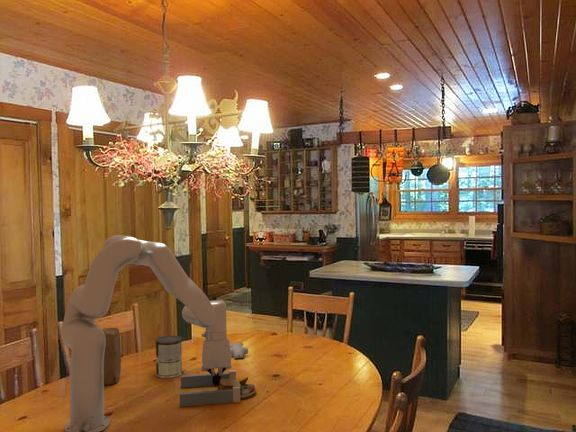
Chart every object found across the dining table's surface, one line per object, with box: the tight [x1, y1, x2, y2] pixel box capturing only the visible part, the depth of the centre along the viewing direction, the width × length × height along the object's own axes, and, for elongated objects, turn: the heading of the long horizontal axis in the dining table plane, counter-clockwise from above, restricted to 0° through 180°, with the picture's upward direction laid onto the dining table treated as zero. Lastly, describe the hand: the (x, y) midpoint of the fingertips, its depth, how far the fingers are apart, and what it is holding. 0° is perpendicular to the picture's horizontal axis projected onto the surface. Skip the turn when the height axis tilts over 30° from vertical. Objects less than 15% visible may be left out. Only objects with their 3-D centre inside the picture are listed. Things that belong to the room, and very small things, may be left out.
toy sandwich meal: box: [217, 376, 257, 400], centre depth 177 cm, size 12×14×5 cm
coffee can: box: [154, 335, 183, 379], centre depth 199 cm, size 10×10×14 cm
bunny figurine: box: [230, 341, 249, 359], centre depth 225 cm, size 10×5×15 cm
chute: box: [179, 369, 241, 407], centre depth 177 cm, size 19×20×5 cm
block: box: [102, 327, 122, 386], centre depth 191 cm, size 11×8×20 cm
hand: (216, 385), depth 180 cm, fingers closed
